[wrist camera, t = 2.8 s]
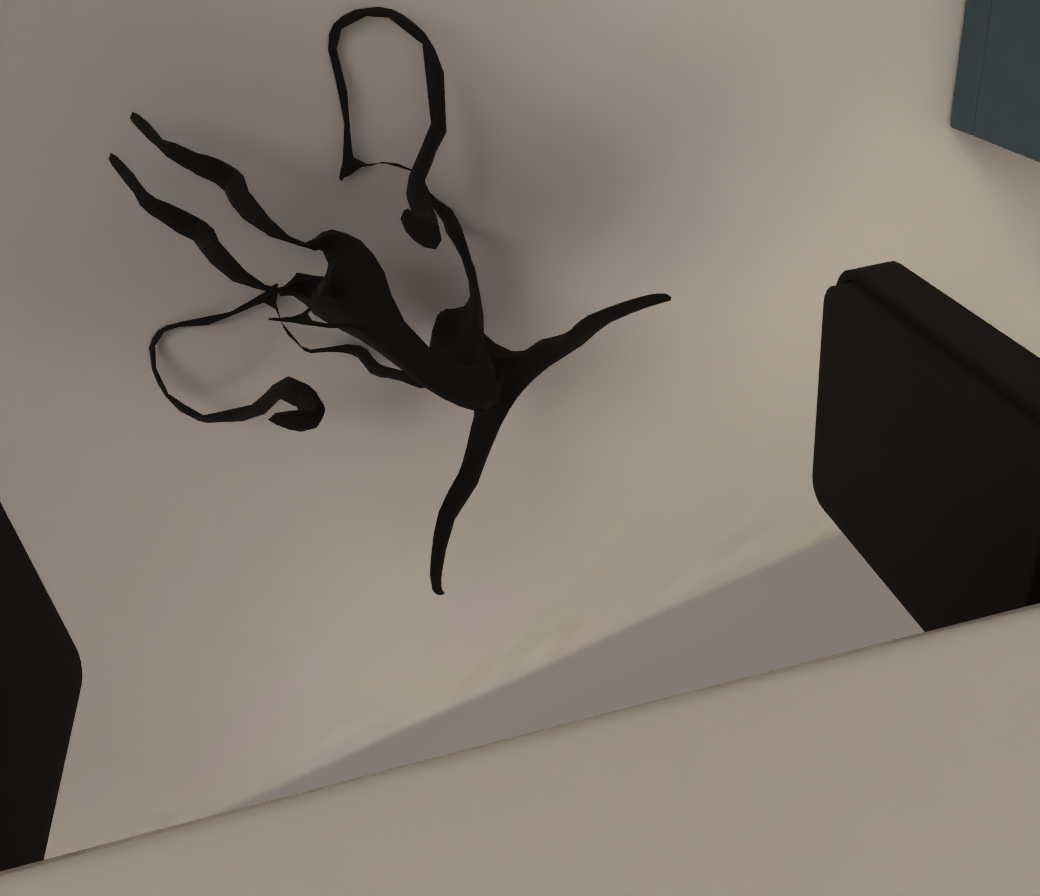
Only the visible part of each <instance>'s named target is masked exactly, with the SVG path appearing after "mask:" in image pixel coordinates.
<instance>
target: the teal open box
mask: <svg viewBox="0 0 1040 896" xmlns="http://www.w3.org/2000/svg"><path fill="white" fill-rule="evenodd" d="M951 127H953V128H955V129H958V130H960V131H963V132H965V133H968V134H971V135H974V136H976V137H978V138H981V139H983V140H986V141H988V142H991V143H993V144H995V145H998V146H1000V147H1003V148H1005V149H1008V150H1010V151H1013V152H1015V153H1018V154H1020V155H1023V156H1025V157H1028V158H1030V159H1033V160H1035V161H1038V162H1040V0H967V3H966V10H965V18H964V26H963V33H962V41H961V48H960V56H959V64H958V71H957V79H956V86H955V94H954V102H953V109H952V117H951Z"/></svg>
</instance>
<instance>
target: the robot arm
mask: <svg viewBox="0 0 1040 896" xmlns="http://www.w3.org/2000/svg"><path fill="white" fill-rule="evenodd" d="M813 487H814V491H815V494H816V497H817V499H818V502H819V504H820V505H821V507H822V508H823V509H824V511H825V512H826V513H827V514H828V515H829V517H830V518H831V519H832V520H833V521H834V523H835V524H836V525H837V526H838V527H839V529H840V530H841V531H842V532H843V533H844V535H845V536H846V537H847V538H848V540H849V541H850V542H851V543H852V544H853V546H854V547H855V548H856V549H857V550H858V552H859V553H860V554H861V555H862V556H863V558H864V559H865V560H866V561H867V563H868V564H869V565H870V566H871V567H872V569H873V570H874V571H875V572H876V573H877V575H878V576H879V577H880V578H881V579H882V581H883V582H884V583H885V584H886V586H887V587H888V588H889V589H890V590H891V592H892V593H893V594H894V595H895V596H896V597H897V599H898V600H899V601H900V602H901V604H902V605H903V606H904V607H905V609H906V610H907V611H908V612H909V613H910V615H911V616H912V617H913V618H914V619H915V621H916V622H917V623H918V624H919V625H920V627H921V628H922V629H923V630H924V632H923V633H920V634H916V635H912V636H908V637H904V638H900V639H896V640H892V641H888V642H884V643H880V644H876V645H872V646H868V647H864V648H860V649H856V650H852V651H848V652H844V653H840V654H836V655H832V656H829V657H825V658H820V659H816V660H813V661H809V662H805V663H801V664H797V665H793V666H789V667H785V668H781V669H778V670H773V671H770V672H766V673H762V674H758V675H754V676H750V677H746V678H742V679H738V680H734V681H730V682H726V683H723V684H718V685H715V686H711V687H707V688H703V689H699V690H695V691H691V692H687V693H683V694H680V695H676V696H672V697H668V698H664V699H660V700H656V701H652V702H648V703H645V704H641V705H637V706H633V707H629V708H625V709H621V710H617V711H613V712H609V713H606V714H602V715H598V716H594V717H590V718H586V719H582V720H578V721H575V722H571V723H567V724H563V725H559V726H555V727H551V728H547V729H543V730H540V731H536V732H532V733H528V734H525V735H520V736H517V737H513V738H509V739H505V740H501V741H497V742H493V743H490V744H485V745H482V746H478V747H474V748H470V749H466V750H462V751H458V752H455V753H451V754H447V755H443V756H439V757H435V758H432V759H427V760H424V761H420V762H416V763H412V764H409V765H405V766H400V767H397V768H393V769H389V770H386V771H381V772H377V773H374V774H370V775H366V776H362V777H358V778H354V779H351V780H347V781H343V782H339V783H335V784H331V785H328V786H324V787H320V788H317V789H313V790H309V791H305V792H301V793H297V794H294V795H290V796H286V797H282V798H278V799H274V800H270V801H266V802H263V803H259V804H255V805H251V806H247V807H244V808H240V809H236V810H232V811H228V812H225V813H221V814H217V815H213V816H209V817H206V818H202V819H198V820H194V821H190V822H187V823H183V824H179V825H175V826H171V827H168V828H164V829H160V830H156V831H153V832H149V833H145V834H141V835H137V836H134V837H130V838H126V839H122V840H118V841H115V842H111V843H107V844H103V845H99V846H96V847H92V848H88V849H84V850H80V851H77V852H73V853H69V854H65V855H61V856H58V857H54V858H50V859H46V860H44V855H45V851H46V846H47V842H48V837H49V832H50V828H51V823H52V818H53V814H54V809H55V805H56V800H57V795H58V791H59V786H60V782H61V777H62V772H63V768H64V763H65V759H66V754H67V749H68V745H69V740H70V736H71V731H72V726H73V722H74V717H75V713H76V708H77V703H78V699H79V694H80V690H81V685H82V666H81V660H80V657H79V653H78V651H77V649H76V646H75V645H74V643H73V641H72V639H71V637H70V635H69V633H68V631H67V629H66V627H65V625H64V623H63V621H62V620H61V618H60V616H59V614H58V612H57V610H56V608H55V606H54V604H53V602H52V600H51V598H50V597H49V595H48V593H47V591H46V589H45V587H44V585H43V583H42V581H41V579H40V577H39V575H38V573H37V572H36V570H35V568H34V566H33V564H32V562H31V560H30V558H29V556H28V554H27V552H26V550H25V549H24V547H23V545H22V543H21V541H20V539H19V537H18V535H17V533H16V531H15V529H14V527H13V525H12V524H11V522H10V520H9V518H8V516H7V514H6V512H5V510H4V508H3V506H2V504H1V502H0V896H1040V358H1039V357H1037V356H1036V355H1034V354H1033V353H1031V352H1030V351H1028V350H1027V349H1026V348H1024V347H1023V346H1021V345H1020V344H1018V343H1017V342H1015V341H1014V340H1012V339H1011V338H1009V337H1008V336H1006V335H1005V334H1003V333H1002V332H1000V331H999V330H997V329H996V328H994V327H993V326H992V325H990V324H989V323H987V322H986V321H984V320H983V319H981V318H980V317H978V316H977V315H975V314H974V313H972V312H971V311H969V310H968V309H966V308H965V307H963V306H962V305H960V304H959V303H958V302H956V301H955V300H953V299H952V298H950V297H949V296H947V295H946V294H944V293H943V292H941V291H940V290H938V289H937V288H935V287H934V286H932V285H931V284H929V283H928V282H926V281H925V280H924V279H922V278H921V277H919V276H918V275H916V274H915V273H913V272H912V271H910V270H909V269H907V268H906V267H904V266H903V265H901V264H900V263H897V262H895V261H891V262H886V263H881V264H876V265H871V266H866V267H861V268H857V269H852V270H847V271H844V272H843V273H842V274H841V275H840V277H839V279H838V281H837V285H836V286H831V287H830V288H829V289H828V290H827V291H826V294H825V298H824V306H823V321H822V337H821V352H820V368H819V383H818V398H817V414H816V429H815V444H814V460H813Z"/></svg>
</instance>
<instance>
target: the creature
mask: <svg viewBox="0 0 1040 896" xmlns="http://www.w3.org/2000/svg"><path fill="white" fill-rule="evenodd" d="M365 16H371V17H388V18H390V19H391V20H393V21H394V22H395V23H396V24H398V25H399V26H400V27H401V28H403V29H404V30H405V31H406V32H408V33H409V34H410V35H411V36H413V37H414V38H415V39H416V40H418V41H419V42H420V43H422V44H423V53H424V63H425V72H426V81H427V90H428V100H429V109H430V118H431V125H430V127H429V130H428V132H427V135H426V137H425V139H424V142H423V144H422V147H421V149H420V151H419V153H418V156H417V158H416V160H415V163H414V165H413V167H412V169H409V168H407V167H405V166H402V165H400V164H397V163H388V162H381V163H387V164H390V165H393V166H397V167H400V168H403V169H406V170H410V171H411V172H410V175H409V179H408V185H407V192H406V195H407V200H408V203H409V206H410V208H411V210H410V209H405V210H404V211H403V214H402V216H401V218H400V219H401V221H402V224H403V226H404V229H405V231H406V232H407V233H408V234H409V236H410V237H411V238H412V239H413V240H414V241H416V242H417V243H419V244H420V245H422V246H423V247H426V248H432V249H436V248H437V247H438V245H439V244H440V242H441V241H442V239H441V234H440V229H439V225H438V220H437V217H436V213H435V211H436V212H437V214H438V215H439V217H440V218H441V220H442V221H443V223H444V227H445V230H446V233H447V234H448V236H449V237H450V239H451V241H452V242H453V244H454V245H455V247H456V249H457V251H458V252H459V254H460V256H461V258H462V261H463V264H464V267H465V271H466V274H467V277H468V280H469V291H470V297H469V300H468V302H467V303H466V304H465V306H463V307H459V308H455V309H445V310H444V311H441V312H440V313H439V315H437V317H436V321H435V324H434V327H433V330H432V336H431V342H430V347H428V346H427V345H426V344H425V343H424V341H423V340H422V339H421V338H420V337H419V336H418V335H417V334H416V333H415V332H414V331H413V330H412V329H411V328H410V327H409V326H408V325H407V323H406V322H405V321H404V319H403V317H402V315H401V313H400V311H399V309H398V307H397V305H396V303H395V301H394V299H393V297H392V295H391V292H390V288H389V285H388V282H387V279H386V276H385V273H384V271H383V269H382V268H381V266H380V264H379V262H378V261H377V259H376V257H375V256H374V254H373V253H372V252H371V251H370V250H369V249H368V248H367V247H366V246H365V245H364V243H363V242H362V241H361V240H359V239H357V238H355V237H353V236H351V235H349V234H346V233H343V232H339V231H336V230H329V231H324V232H322V233H320V234H319V235H318V236H317V237H315V238H314V239H312V240H310V241H308V242H306V243H305V242H303V241H300V240H297V239H295V238H293V237H291V236H289V235H287V234H286V233H285V232H284V231H283V230H282V229H281V228H280V227H279V226H278V225H277V224H276V223H275V222H273V221H272V220H271V219H270V218H269V216H268V215H267V214H266V213H265V211H264V210H263V209H262V207H261V206H260V205H259V204H258V202H257V201H256V200H255V199H254V197H253V196H252V195H251V194H250V192H249V191H248V187H247V184H246V181H245V178H244V176H243V175H242V174H241V173H240V172H239V171H238V170H237V169H236V168H234V167H232V166H231V165H229V164H227V163H225V162H223V161H221V160H219V159H216V158H214V157H211V156H208V155H204V154H199V153H196V152H194V151H191V150H189V149H187V148H185V147H182V146H180V145H178V144H176V143H173V142H169V141H166V140H163V139H162V138H161V137H160V136H159V134H158V133H157V132H156V131H155V130H154V129H153V127H152V126H151V125H150V124H149V123H148V122H147V121H146V120H144V119H143V118H142V117H141V116H140V115H138V114H136V113H134V112H133V111H132V114H131V117H130V119H131V120H132V122H133V123H134V125H135V126H136V127H137V128H138V129H139V130H140V131H141V132H142V133H143V134H144V135H145V136H146V137H147V138H148V139H149V140H150V141H151V142H152V143H153V144H155V145H156V146H157V147H158V148H159V149H160V150H161V151H162V152H163V153H164V154H165V155H166V156H167V157H168V158H170V159H171V160H173V161H175V162H176V163H178V164H179V165H181V166H183V167H184V168H186V169H188V170H190V171H192V172H193V173H195V174H196V175H198V176H201V177H203V178H205V179H207V180H210V181H212V182H214V183H216V184H217V185H218V186H219V187H220V188H221V189H223V190H224V191H225V193H226V195H227V197H228V200H229V202H230V203H231V205H232V206H233V207H234V208H235V210H236V211H237V212H238V213H239V214H240V216H241V217H242V218H243V219H244V220H246V221H247V222H249V223H250V224H252V225H253V226H255V227H256V228H258V229H259V230H261V231H262V232H264V233H266V234H267V235H268V236H270V237H273V238H277V239H280V240H283V241H286V242H289V243H292V244H295V245H298V246H302V247H306V248H309V249H312V250H314V251H316V250H321V251H323V253H324V255H325V257H326V260H327V262H328V268H327V272H326V275H325V276H324V277H323V276H312V275H308V274H302V273H296V275H295V276H294V277H293V278H292V279H291V280H290V281H289V282H288V283H287V284H286V285H285V286H283V287H278V283H277V284H274V285H273V286H272V287H271V286H268V285H265V284H263V283H262V282H260V281H259V280H258V279H256V278H255V277H253V276H252V275H250V274H249V273H248V272H246V271H245V270H244V269H243V268H242V266H241V265H240V264H239V263H238V262H237V261H236V260H235V259H234V258H233V257H232V255H231V254H230V253H229V252H228V251H227V250H226V249H225V248H224V247H223V245H222V244H221V243H220V242H219V240H218V238H217V236H216V233H215V231H214V229H213V228H212V227H211V226H209V225H208V224H207V223H206V222H204V221H203V220H201V219H199V218H197V217H196V216H194V215H192V214H190V213H188V212H186V211H184V210H182V209H180V208H178V207H175V206H173V205H171V204H169V203H166V202H164V201H161V200H159V199H156V198H155V197H153V196H152V195H151V194H149V193H148V192H147V191H146V190H145V189H144V188H143V186H142V185H141V184H140V183H139V181H138V180H137V178H136V177H135V175H134V174H133V173H132V172H131V171H130V169H129V168H128V167H127V166H126V165H125V164H124V163H123V162H122V161H121V160H120V159H119V158H118V157H117V156H115V155H113V154H112V153H110V156H109V161H110V163H111V164H112V166H113V167H114V168H115V170H116V171H117V172H118V174H119V175H120V176H121V178H122V179H123V180H124V181H125V183H126V184H127V185H128V186H129V188H130V189H131V190H132V191H133V193H134V194H135V196H136V198H137V200H138V202H139V204H140V206H141V207H142V208H144V209H145V210H146V211H147V212H148V213H149V214H150V215H152V216H153V217H155V218H157V219H158V220H160V221H161V222H163V223H164V224H166V225H167V226H169V227H170V228H172V229H173V230H175V231H176V232H177V233H179V234H181V235H183V236H185V237H187V238H189V239H191V240H193V241H194V242H195V243H196V245H197V246H198V248H199V249H200V250H201V252H202V253H203V254H204V255H205V257H206V258H207V259H208V260H209V261H210V263H211V264H212V265H214V266H215V267H216V268H217V269H218V270H220V271H221V272H222V273H223V274H225V275H226V276H227V277H228V278H229V279H231V280H232V281H234V282H237V283H240V284H243V285H247V286H250V287H253V288H256V289H260V290H264V291H265V292H264V293H263V294H261V295H259V296H257V297H256V298H254V299H252V300H250V301H249V302H247V303H245V304H243V305H242V306H240V307H238V308H236V309H235V310H233V311H231V312H227V313H222V314H217V315H212V316H207V317H202V318H197V319H192V320H187V321H183V322H179V323H175V324H171V325H167V326H165V327H163V328H162V329H160V330H158V331H157V333H156V334H155V336H154V337H153V338H152V341H151V344H150V347H149V351H150V358H151V365H152V371H153V373H154V376H155V378H156V381H157V383H158V385H159V387H160V388H161V390H162V391H163V393H164V395H165V396H166V397H167V398H168V399H169V401H170V402H171V403H172V404H173V405H174V406H175V407H176V408H177V409H178V410H179V411H181V412H182V413H184V414H186V415H188V416H190V417H192V418H194V419H196V420H198V421H201V422H205V423H214V422H235V421H244V420H247V419H250V418H253V417H256V416H259V415H262V414H265V413H266V412H267V411H268V410H269V409H270V408H271V407H272V406H273V405H274V404H275V403H276V402H277V401H278V400H280V399H282V400H284V401H286V402H288V403H290V404H291V405H293V406H297V408H298V410H294V411H285V412H279V413H275V414H274V415H273V416H272V417H271V418H270V419H268V420H269V421H271V422H273V423H275V424H276V425H279V426H281V427H284V428H287V429H290V430H295V431H300V432H302V431H306V430H310V429H314V428H317V426H318V425H319V423H320V422H321V420H322V418H323V416H324V413H325V407H324V404H323V403H322V401H321V400H320V398H319V396H318V395H317V393H316V391H314V390H313V389H312V388H311V387H310V386H309V385H307V384H305V383H303V382H300V381H298V380H296V379H293V378H291V377H289V376H288V377H286V378H284V379H283V380H281V381H279V382H277V383H276V384H274V385H272V386H271V387H270V389H269V390H268V391H267V392H266V393H265V394H264V395H262V396H261V397H260V398H259V399H258V400H257V401H256V402H254V403H253V404H252V405H248V406H244V407H239V408H235V409H231V410H226V411H222V412H217V413H212V414H207V415H202V414H200V413H198V412H197V411H195V410H193V409H191V408H190V407H188V406H186V405H184V404H183V403H181V402H180V401H178V400H177V399H175V398H174V397H173V396H171V395H170V394H168V392H167V390H166V388H165V386H164V384H163V381H162V379H161V377H160V375H159V373H158V371H157V369H156V353H155V345H156V344H157V342H158V341H159V339H160V338H161V337H162V335H163V334H164V332H166V331H167V330H170V329H174V328H177V327H185V326H202V325H210V324H212V323H215V322H217V321H220V320H222V319H225V318H227V317H230V316H232V315H235V314H237V313H239V312H242V311H244V310H246V309H249V308H251V307H253V306H256V305H259V304H262V303H265V304H267V305H269V306H271V307H273V308H275V309H276V311H277V313H278V315H279V312H278V308H277V304H276V301H277V294H278V293H279V295H280V296H294V297H295V298H297V299H298V300H300V301H301V302H303V303H304V304H305V305H306V306H307V307H308V309H307V310H306V311H304V312H303V313H301V314H299V315H296V316H293V317H282V318H280V315H279V318H269V319H268V320H273V321H281V322H292V323H297V324H303V325H311V326H319V327H326V328H339V329H340V330H342V331H344V332H346V333H348V334H350V335H352V336H354V337H356V338H358V339H360V340H362V341H363V342H364V343H366V344H367V345H369V346H370V347H372V348H373V349H374V350H376V351H377V352H379V353H380V354H382V355H383V356H384V357H386V358H387V359H388V360H390V361H391V362H392V363H394V364H395V365H396V366H398V367H399V368H400V369H402V370H398V369H394V368H390V367H386V366H383V365H381V364H379V363H378V362H377V361H376V360H375V359H374V358H373V357H372V355H371V354H370V353H369V351H368V350H367V349H365V348H364V347H362V346H360V345H350V344H345V345H339V346H332V347H326V348H319V349H312V350H310V349H308V348H305V347H302V346H301V345H300V344H299V343H298V341H297V340H296V339H295V338H294V337H293V335H292V334H291V333H290V332H289V331H288V329H287V328H286V327H285V326H284V325H283V323H282V325H283V327H284V329H285V331H286V332H287V334H288V335H289V336H290V337H291V338H292V339H293V340H294V341H295V342H296V343H297V344H298V345H299V346H300V347H301V348H302V349H303V350H304V351H306V352H310V353H318V352H343V353H348V354H351V355H353V356H356V357H358V358H359V359H360V361H361V362H362V363H363V364H364V366H365V367H366V368H367V370H368V371H369V372H370V373H371V374H374V375H376V376H378V377H382V378H390V379H395V380H399V381H402V382H405V383H407V384H410V385H412V386H415V387H418V388H427V389H428V390H430V391H431V392H433V393H435V394H436V395H438V396H440V397H441V398H443V399H445V400H447V401H450V402H452V403H454V404H456V405H458V406H460V407H464V408H467V409H470V410H473V411H474V418H473V422H472V426H471V430H470V434H469V439H468V443H467V448H466V451H465V455H464V459H463V462H462V466H461V468H460V471H459V473H458V475H457V477H456V479H455V480H454V482H453V484H452V486H451V487H450V489H449V491H448V493H447V495H446V497H445V499H444V501H443V504H442V506H441V508H440V510H439V513H438V518H437V522H436V526H435V531H434V537H433V545H432V553H431V566H430V578H431V584H432V590H433V591H434V592H435V593H436V594H438V595H442V594H445V593H444V592H443V591H442V587H441V576H442V569H443V563H444V558H445V552H446V548H447V544H448V541H449V538H450V534H451V531H452V527H453V524H454V520H455V518H456V517H457V515H458V514H459V512H460V510H461V509H462V507H463V506H464V504H465V503H466V501H467V499H468V498H469V496H470V495H471V493H472V492H473V490H474V489H475V487H476V485H477V484H478V481H479V478H480V476H481V473H482V470H483V467H484V465H485V462H486V459H487V457H488V454H489V452H490V449H491V447H492V445H493V442H494V440H495V438H496V435H497V433H498V431H499V428H500V426H501V424H502V422H503V420H504V418H505V417H506V415H507V413H508V411H509V409H510V408H511V406H512V405H513V403H514V402H515V400H516V399H517V397H518V396H519V395H520V394H521V392H522V391H523V390H524V389H525V388H526V387H527V386H528V385H529V384H530V383H531V382H532V381H533V380H534V378H536V377H537V376H538V375H539V374H541V373H542V372H543V371H544V370H545V369H547V368H548V367H549V366H551V365H552V364H554V363H555V362H557V361H558V360H560V359H562V358H563V357H565V356H566V355H568V354H569V353H571V352H572V351H574V350H576V349H577V348H579V347H580V346H582V345H583V344H584V343H585V342H586V341H588V340H589V339H590V338H591V337H592V336H593V335H594V334H595V333H596V332H598V331H599V330H600V329H602V328H603V327H604V326H606V325H607V324H609V323H610V322H612V321H614V320H617V319H619V318H621V317H624V316H626V315H628V314H630V313H633V312H636V311H639V310H641V309H644V308H647V307H650V306H653V305H656V304H660V303H663V302H667V301H670V300H671V297H670V296H669V295H667V294H651V295H646V296H642V297H638V298H635V299H632V300H628V301H625V302H622V303H619V304H616V305H614V306H611V307H608V308H605V309H603V310H600V311H598V312H595V313H593V314H591V315H588V316H587V317H585V318H584V319H582V320H581V321H579V322H578V323H577V324H576V325H575V326H574V327H573V328H572V329H571V330H570V331H568V332H566V333H564V334H561V335H558V336H555V337H550V338H546V339H542V340H540V341H538V342H537V343H535V344H534V345H533V346H531V347H530V348H528V349H526V350H525V351H510V350H508V349H506V348H504V347H502V346H500V345H498V344H496V343H495V342H493V341H492V340H491V339H490V338H489V337H488V336H486V335H485V334H484V321H483V309H482V303H481V297H480V292H479V287H478V282H477V277H476V271H475V267H474V265H473V262H472V260H471V256H470V253H469V249H468V246H467V243H466V240H465V237H464V234H463V230H462V228H461V226H460V224H459V221H458V219H457V217H456V216H455V214H454V212H453V211H452V209H451V208H449V207H448V206H446V205H445V204H443V203H442V202H440V201H439V200H438V199H437V198H436V197H434V196H433V195H432V194H431V193H430V192H429V190H428V188H427V185H426V183H425V178H426V176H427V174H428V172H429V169H430V167H431V165H432V163H433V160H434V157H435V154H436V151H437V149H438V147H439V146H440V144H441V142H442V140H443V138H444V136H445V134H446V112H445V90H444V72H443V69H442V67H441V64H440V61H439V59H438V56H437V53H436V51H435V49H434V47H433V45H432V44H431V42H430V40H429V39H428V37H427V35H426V34H425V32H423V31H422V30H421V29H420V28H419V27H418V26H417V25H416V24H414V23H413V22H412V21H411V20H409V19H408V18H406V17H405V16H404V15H402V14H400V13H398V12H396V11H394V10H392V9H387V8H382V7H372V8H364V9H357V10H353V11H352V12H350V13H348V14H346V15H344V16H342V17H341V18H340V19H339V20H337V21H336V22H335V23H334V25H333V27H332V29H331V31H330V33H329V47H328V50H329V54H330V58H331V62H332V66H333V70H334V74H335V79H336V84H337V89H338V94H339V99H340V104H341V109H342V114H343V119H344V147H343V163H342V167H341V171H340V176H339V179H340V180H341V181H342V180H343V179H344V178H345V177H347V176H349V175H351V174H352V173H353V172H355V171H356V170H358V169H359V168H361V167H364V166H371V165H375V164H378V163H373V164H366V163H364V162H362V161H360V160H358V159H356V158H354V157H353V153H352V144H351V133H350V121H349V109H348V96H347V89H346V85H345V81H344V77H343V73H342V69H341V65H340V61H339V57H338V53H337V45H338V41H339V36H340V32H341V29H342V28H344V27H346V26H348V25H350V24H352V23H354V22H355V21H357V20H359V19H361V18H363V17H365ZM433 208H434V209H433ZM434 210H435V211H434ZM277 287H278V288H277ZM310 310H311V311H312V313H313V314H314V315H316V316H318V317H319V318H321V319H322V320H324V321H326V322H327V323H322V322H317V321H312V319H311V318H310V316H309V315H308V313H309V312H310Z"/></svg>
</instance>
